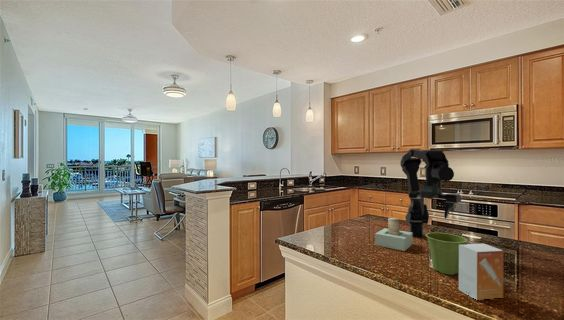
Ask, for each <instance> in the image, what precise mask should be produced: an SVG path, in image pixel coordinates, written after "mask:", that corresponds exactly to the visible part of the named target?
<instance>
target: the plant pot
mask: <svg viewBox="0 0 564 320" xmlns="http://www.w3.org/2000/svg"><path fill="white" fill-rule="evenodd" d="M425 237H426V238H427V242H428V244H429V250H430V251H429V252H430V257H431V262H432V267H433V270H434V271H437V272H439V273H441V274H444V275H451V276H453V275H459V245H465V244H466V243H467V242H468V239H467V238H465V237H464V236H460V235H456V234H452V233H445V232H427V233H425Z"/></svg>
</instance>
